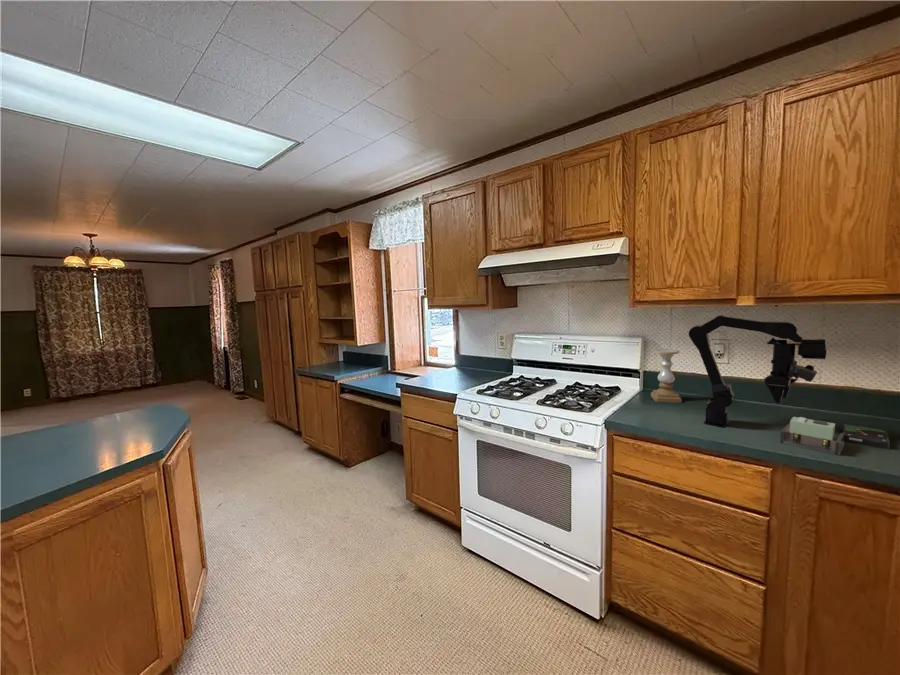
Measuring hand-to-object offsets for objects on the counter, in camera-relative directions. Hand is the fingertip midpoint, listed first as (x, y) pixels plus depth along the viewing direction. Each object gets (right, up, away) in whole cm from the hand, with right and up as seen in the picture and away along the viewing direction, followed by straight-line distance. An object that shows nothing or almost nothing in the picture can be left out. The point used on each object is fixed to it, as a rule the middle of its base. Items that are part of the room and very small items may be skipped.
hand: (781, 400), depth 131 cm
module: (+2, -9, -9) cm, 13 cm away
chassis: (+2, -13, -9) cm, 16 cm away
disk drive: (+23, -13, -6) cm, 27 cm away
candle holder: (-13, -8, +48) cm, 50 cm away
